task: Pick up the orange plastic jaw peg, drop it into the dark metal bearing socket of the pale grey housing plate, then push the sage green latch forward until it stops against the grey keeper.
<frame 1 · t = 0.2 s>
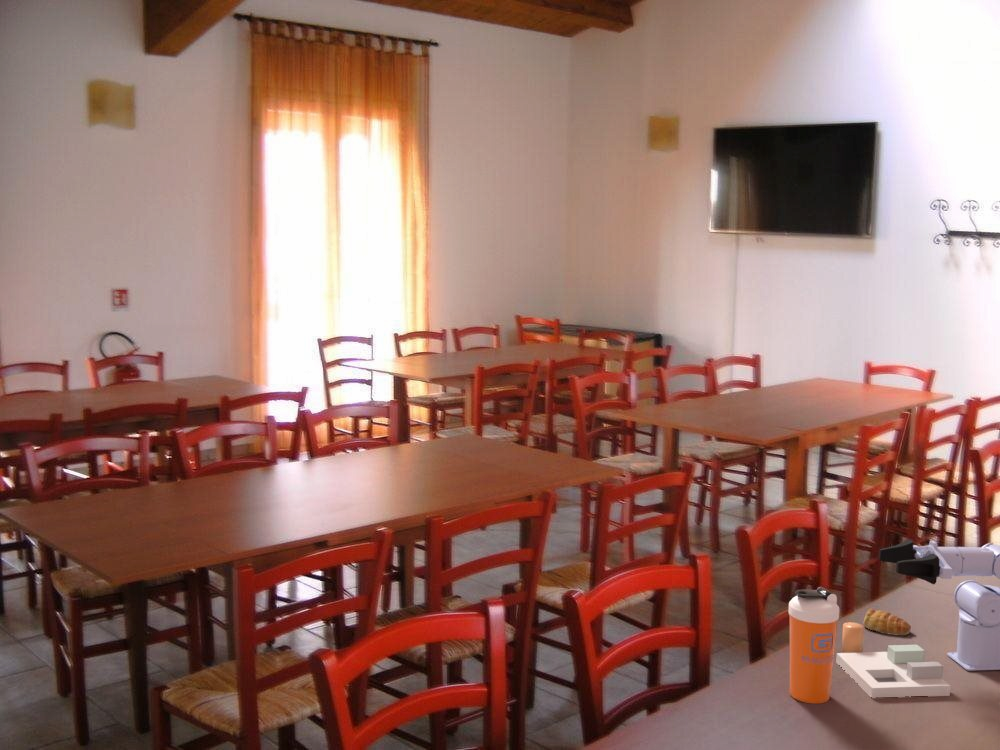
hand: (888, 561, 202), 21 cm above the table, tool horizontal, fingers open, 7 cm apart
housing: (893, 678, 198), on the table
shaker bottle: (809, 696, 191), on the table
pastry: (884, 630, 224), on the table
latch: (905, 654, 202), point 3 cm above the table, slide at 0.0 cm
jaw peg: (851, 654, 210), on the table
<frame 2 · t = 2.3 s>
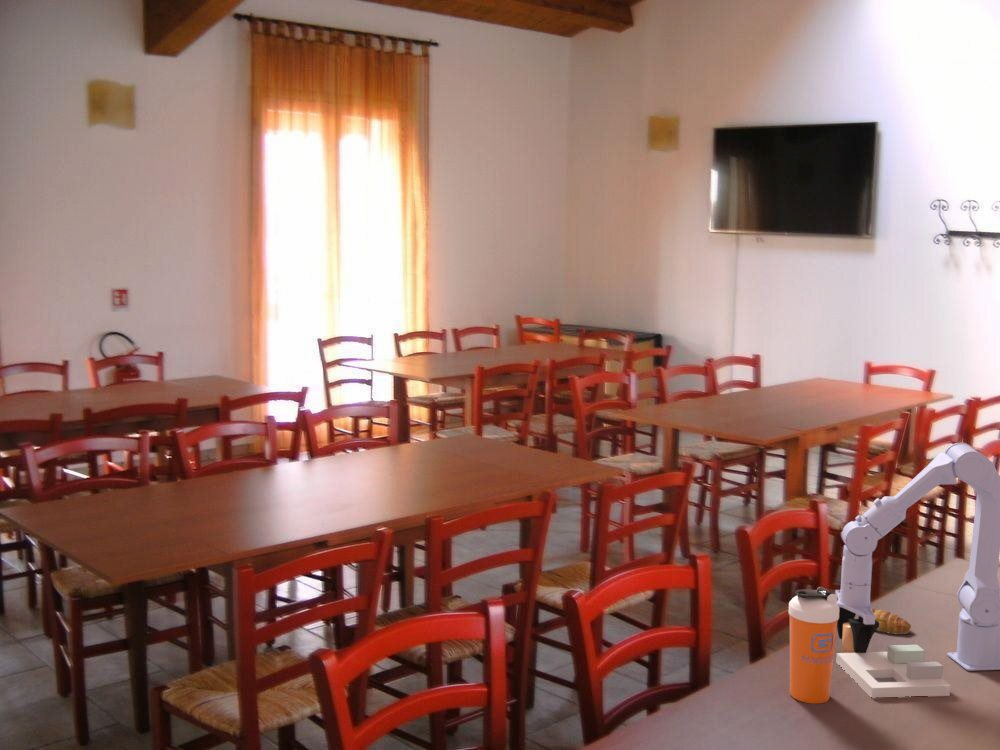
hand: (852, 645, 210), 2 cm above the table, tool pointing down, fingers open, 7 cm apart
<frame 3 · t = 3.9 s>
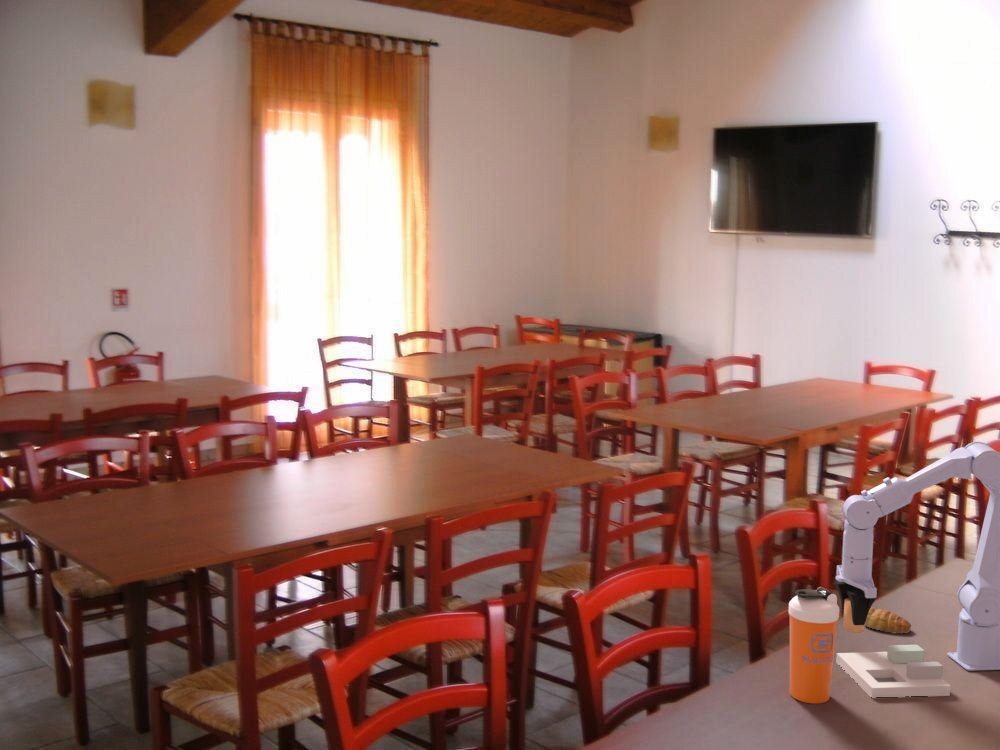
hand: (853, 620, 209), 7 cm above the table, tool pointing down, fingers closed on jaw peg, 4 cm apart
jaw peg: (853, 629, 209), point 5 cm above the table, touching gripper
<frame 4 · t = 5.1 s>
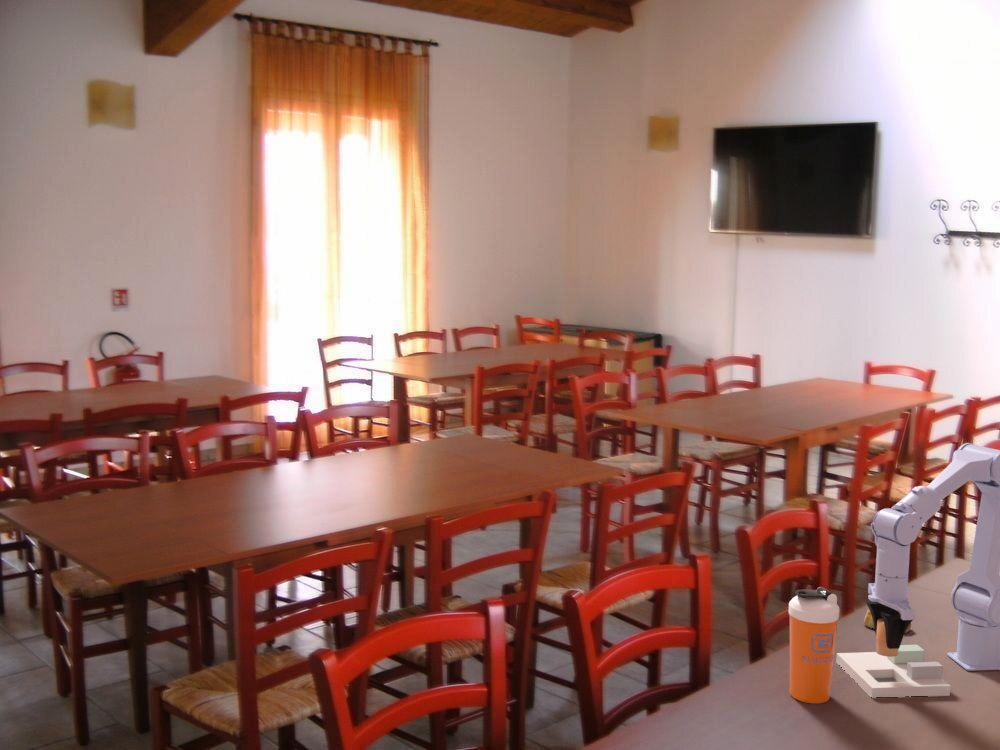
hand: (887, 643, 194), 8 cm above the table, tool pointing down, fingers closed on jaw peg, 4 cm apart
jaw peg: (886, 652, 194), point 7 cm above the table, touching gripper
when the fingers open (3 cm above the table, at t = 6.5 s): jaw peg stays where it is, resting on housing.
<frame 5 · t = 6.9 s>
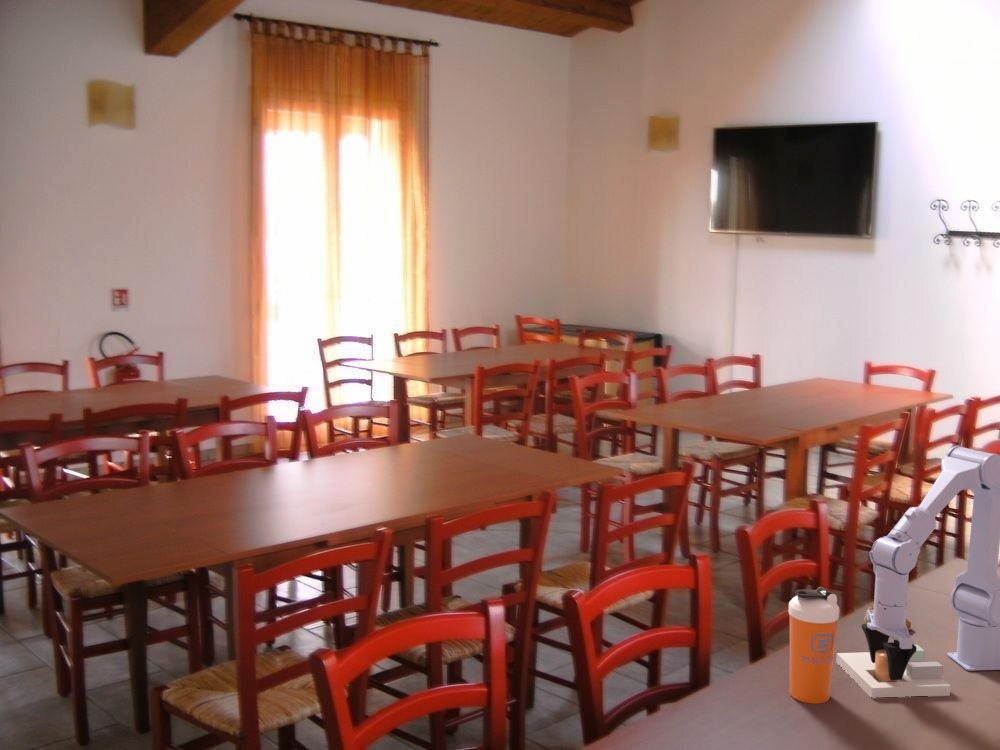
hand: (886, 670, 195), 3 cm above the table, tool pointing down, fingers open, 7 cm apart
jaw peg: (885, 684, 195), resting on housing
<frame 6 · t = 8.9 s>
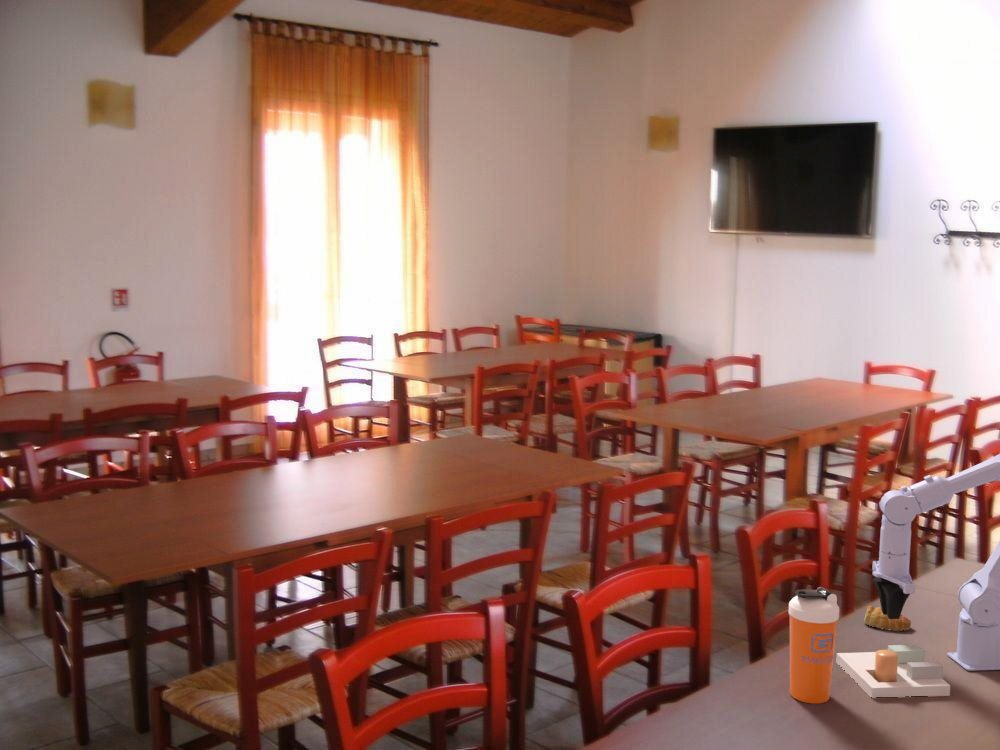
hand: (890, 616, 208), 8 cm above the table, tool pointing down, fingers closed
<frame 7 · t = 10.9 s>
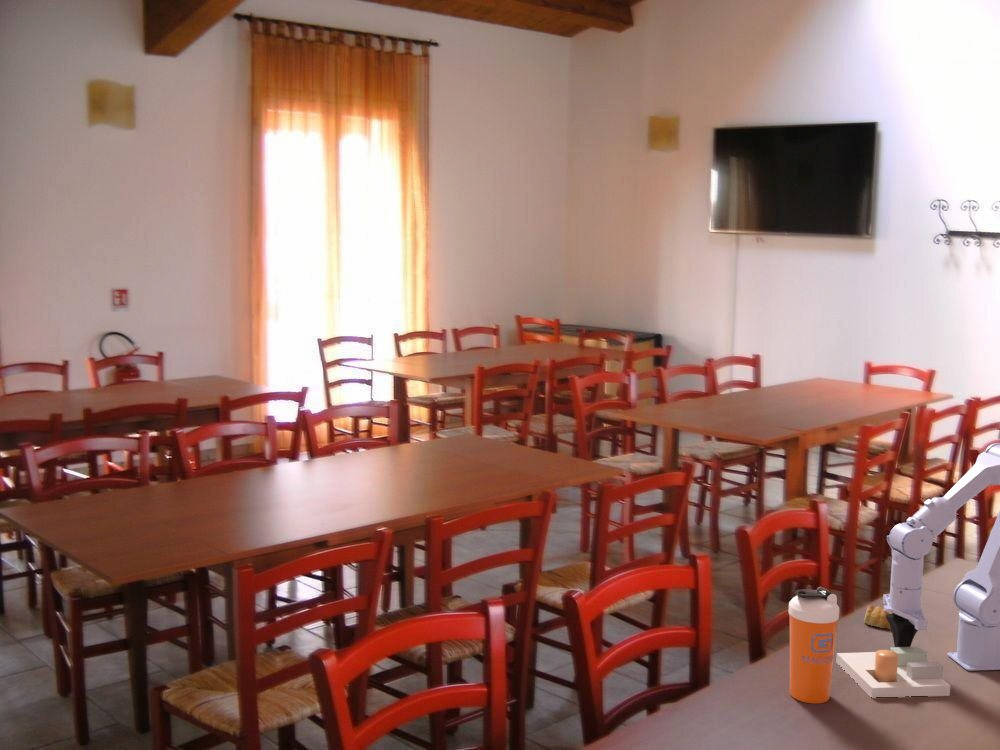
hand: (901, 651, 203), 3 cm above the table, tool pointing down, fingers closed
latch: (908, 656, 201), point 3 cm above the table, slide at 1.0 cm, touching gripper
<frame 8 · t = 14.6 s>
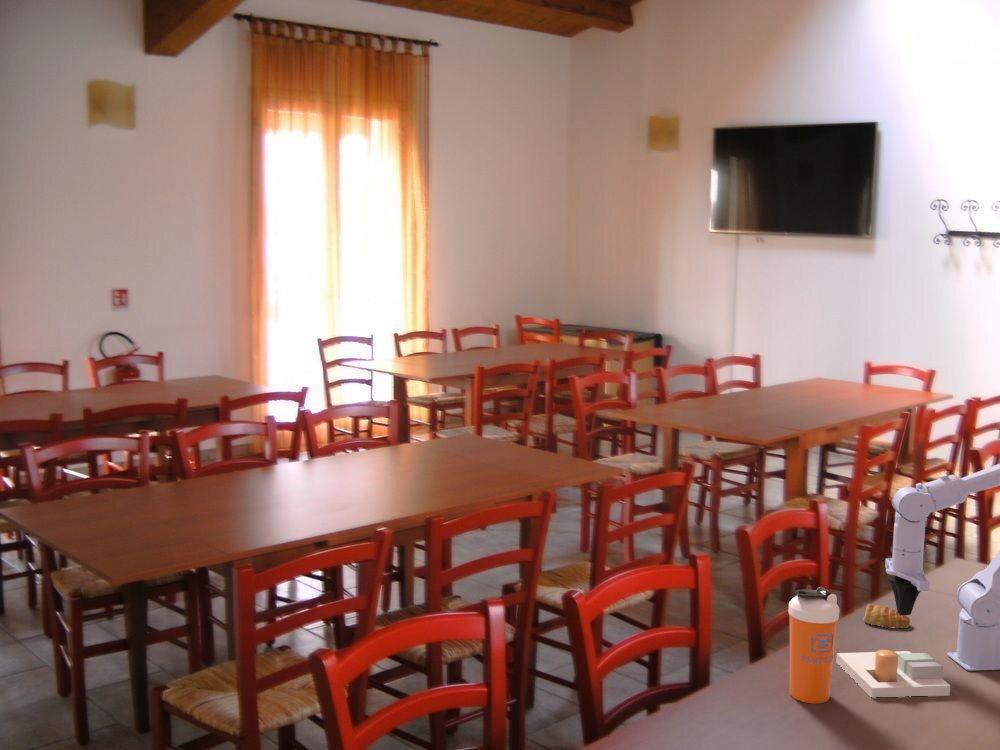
hand: (904, 613, 207), 9 cm above the table, tool pointing down, fingers closed
latch: (915, 662, 198), point 3 cm above the table, slide at 4.1 cm
at the end: jaw peg 0.1 cm from the target spot on the housing, point 0.3 cm above the housing's base; jaw peg tilted 0°; latch slide at 4.1 cm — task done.
